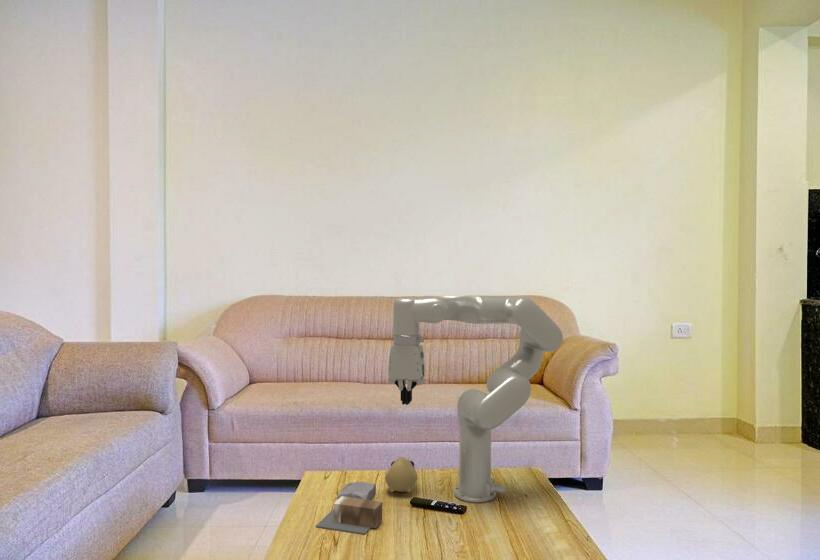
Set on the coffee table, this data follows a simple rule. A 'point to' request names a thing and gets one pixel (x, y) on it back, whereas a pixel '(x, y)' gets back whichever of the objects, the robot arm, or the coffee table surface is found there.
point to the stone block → (358, 490)
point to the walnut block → (358, 512)
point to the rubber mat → (341, 525)
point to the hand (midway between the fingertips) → (406, 403)
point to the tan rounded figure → (401, 475)
